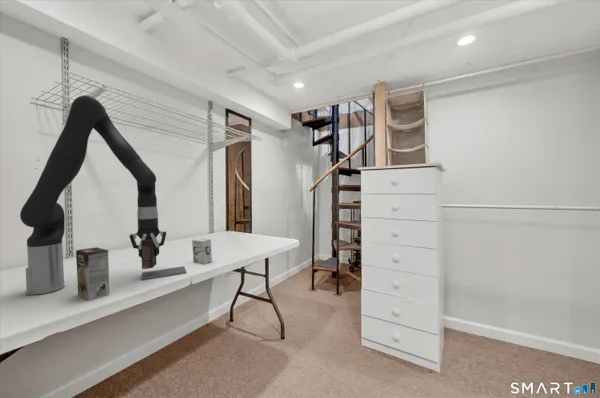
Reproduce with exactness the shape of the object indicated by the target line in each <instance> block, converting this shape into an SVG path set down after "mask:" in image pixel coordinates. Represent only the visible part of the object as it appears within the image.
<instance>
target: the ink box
mask: <svg viewBox="0 0 600 398" xmlns="http://www.w3.org/2000/svg"><path fill="white" fill-rule="evenodd" d="M211 241H212V239H209V238H203V237H198V238H196V239H192V241H191V243H192V261H193V263H195V264H196V263H197V264H202V265H206V264H208V263H212V262H213V258H212V257H213V256H212V242H211Z"/></svg>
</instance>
